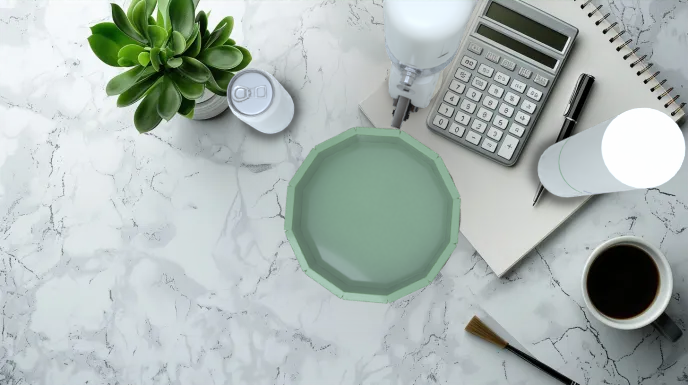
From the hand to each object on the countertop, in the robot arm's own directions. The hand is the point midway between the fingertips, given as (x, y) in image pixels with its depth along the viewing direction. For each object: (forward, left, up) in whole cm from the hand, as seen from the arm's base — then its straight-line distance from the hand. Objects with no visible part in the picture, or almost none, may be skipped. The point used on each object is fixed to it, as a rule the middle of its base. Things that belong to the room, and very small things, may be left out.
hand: (416, 76), depth 79 cm
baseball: (0, 0, -3) cm, 3 cm away
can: (+19, -5, -2) cm, 20 cm away
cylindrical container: (-12, +19, -2) cm, 23 cm away
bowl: (+12, +14, +22) cm, 29 cm away
